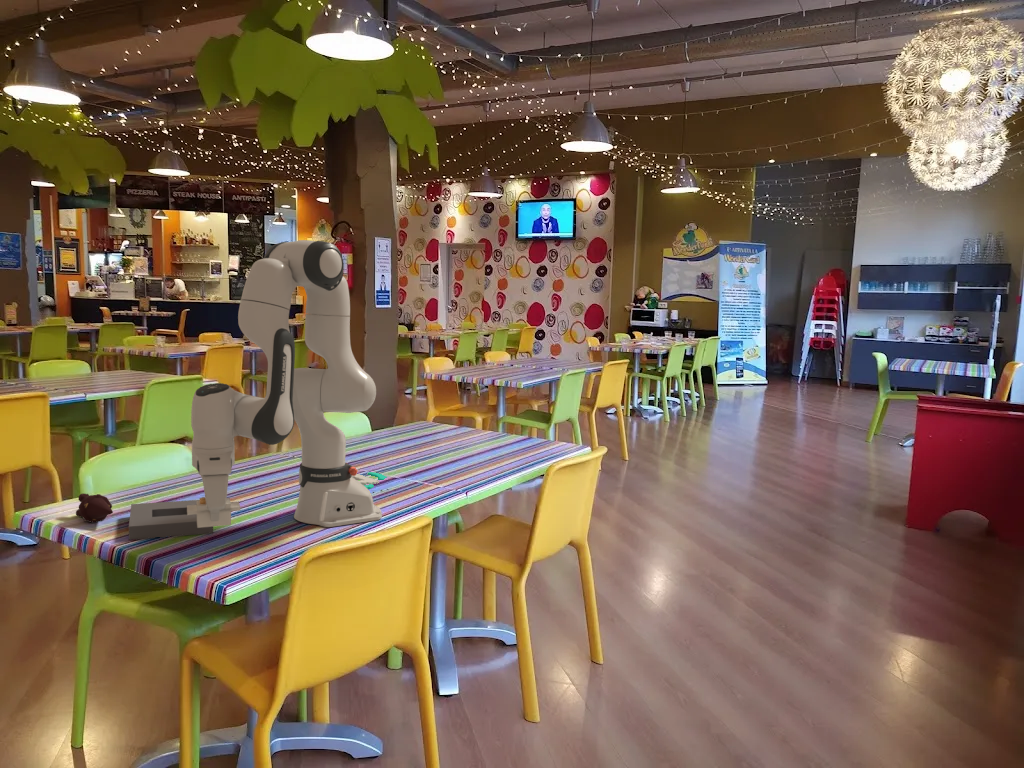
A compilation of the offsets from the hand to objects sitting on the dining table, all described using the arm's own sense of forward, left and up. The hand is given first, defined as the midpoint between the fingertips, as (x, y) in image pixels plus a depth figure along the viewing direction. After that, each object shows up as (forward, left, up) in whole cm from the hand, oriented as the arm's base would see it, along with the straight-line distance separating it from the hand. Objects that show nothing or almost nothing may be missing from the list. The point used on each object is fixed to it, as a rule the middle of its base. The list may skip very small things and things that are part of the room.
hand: (214, 516), depth 168 cm
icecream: (+25, -27, -8) cm, 38 cm away
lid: (-42, -48, -8) cm, 65 cm away
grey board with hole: (+9, -19, -7) cm, 22 cm away
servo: (0, 0, -2) cm, 2 cm away
